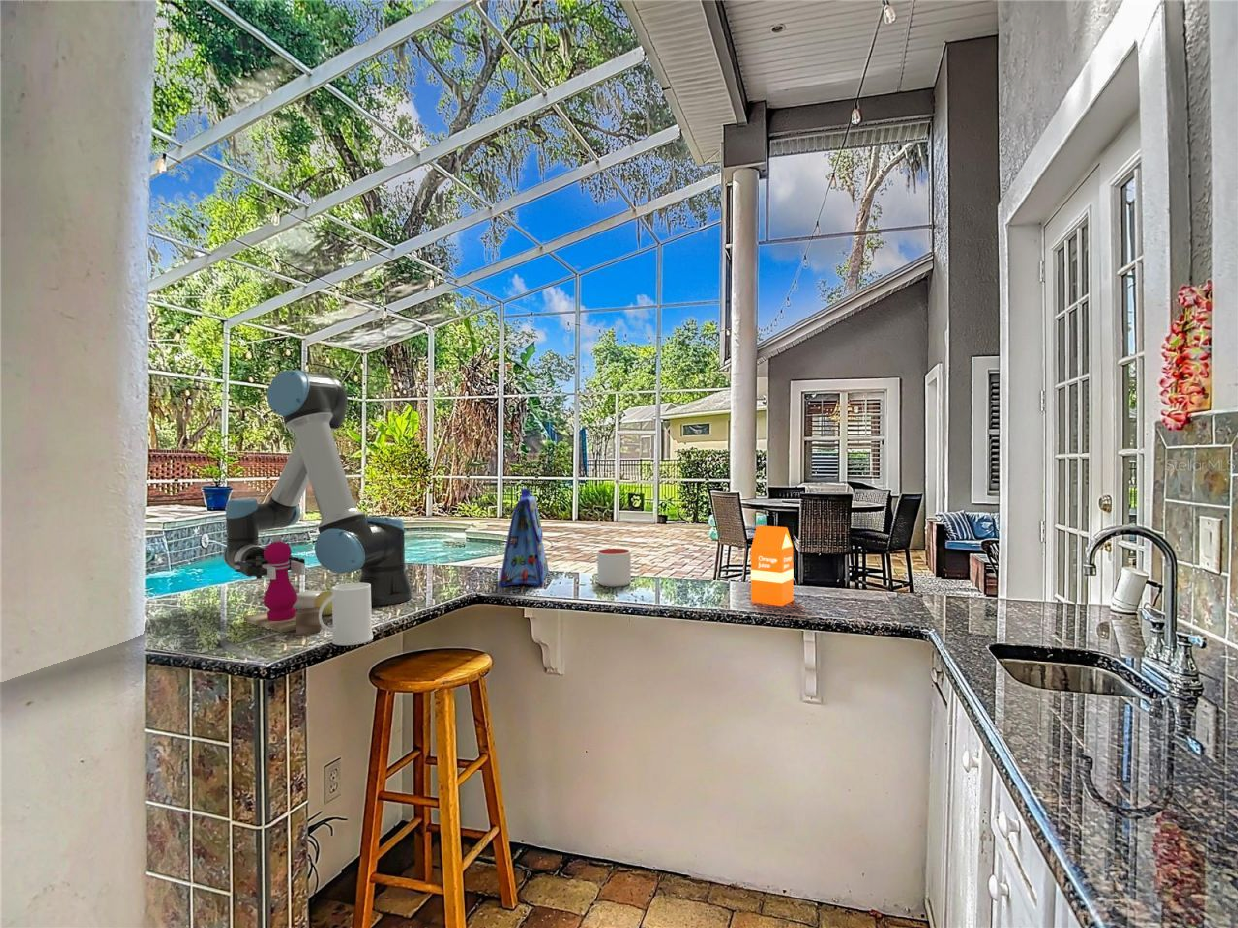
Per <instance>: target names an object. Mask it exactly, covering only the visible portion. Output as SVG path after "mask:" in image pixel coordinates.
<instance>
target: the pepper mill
mask: <svg viewBox="0 0 1238 928" xmlns="http://www.w3.org/2000/svg"><path fill="white" fill-rule="evenodd" d="M272 541H273V542H272V543H269V544H268V545H267V546H266V547H264V548H265V550H264V557H265V559H266V560H267V561H268V562H269V563H268V564H267V565H269V566H272V567H275V573H276V579H270V578H269V584H268V587H267V589H266V591H265V595H264V598H263V605H264V606H265V607H266V608H267V609H268V611H266V612H267V619H268V620H270V621H279V620H286V619H290V618H293V617H295V614H296V611H297V610H296V609H295V608H294V607H293V605H294V604H295V603H296V601H297V594H296V593H297V592H296V589H295V588H294V586H293V584H292V583H291V581H290V578H289V570H288V568H289V567H290V565H289V563H290V561H288V559H289V558H290V556H291V555H292V548H291V546H290V545H289V544H288V543H286V542H284V541H283V542H282V537H281V536H279V535H276V536H274V537H273V538H272Z"/></svg>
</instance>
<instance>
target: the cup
mask: <svg viewBox="0 0 1238 928" xmlns="http://www.w3.org/2000/svg"><path fill="white" fill-rule="evenodd" d="M596 556H597V557H596V558H597V560H596V561H597V564H596V565H597V583H598V584H599V585H601V586H603V587H608V588H609V587H610V588H616V587H618V588H619V587H624V586H627V585H629V584H630V583H631V581H632V578H631V577H632V576H631V575H632V574H631V571H632V570H631V566H632V565H631V564H632V563H631V550H629V549H625V548H604V549H600V550H598V551H596Z"/></svg>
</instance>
